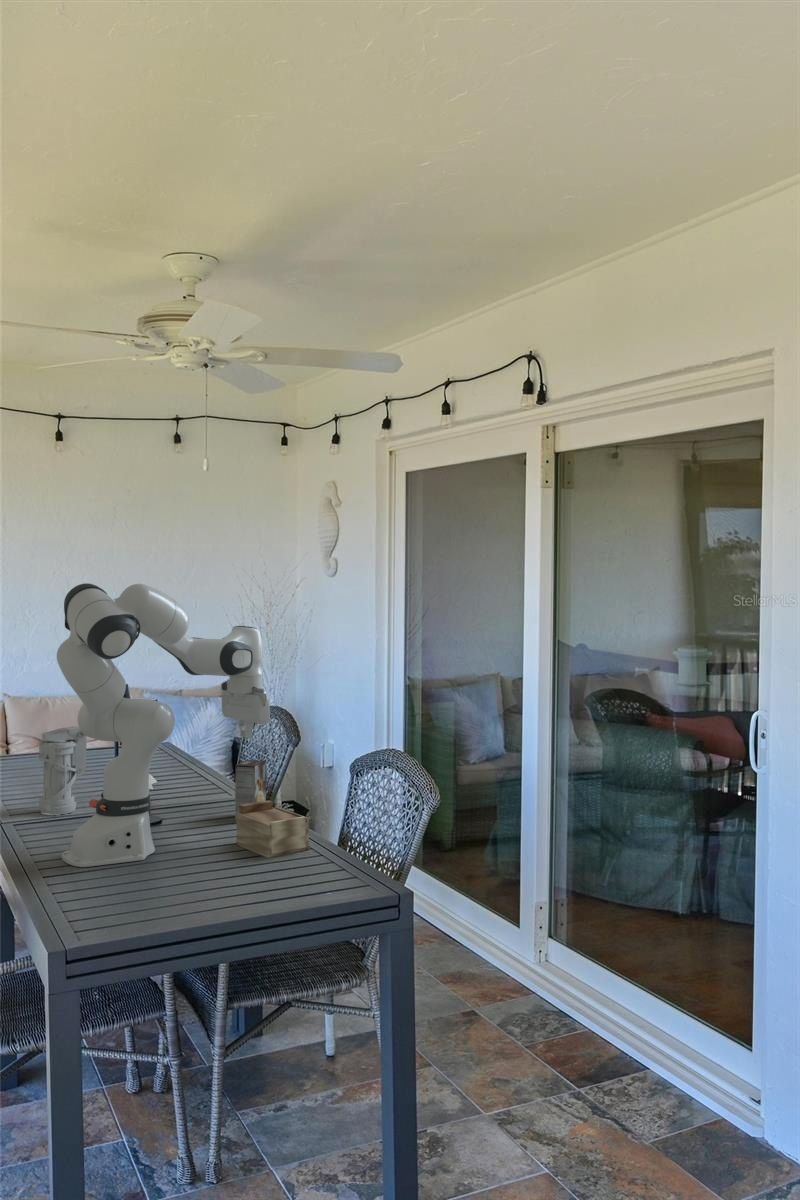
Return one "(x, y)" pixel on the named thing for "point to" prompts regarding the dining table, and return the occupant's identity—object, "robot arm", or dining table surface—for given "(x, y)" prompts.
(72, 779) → the lantern
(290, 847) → the crate
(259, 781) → the coffee box
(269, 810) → the lid
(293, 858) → the dining table surface
